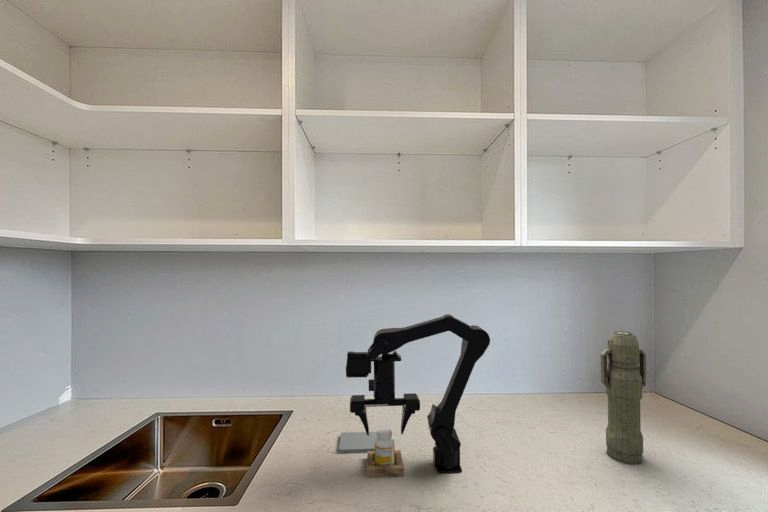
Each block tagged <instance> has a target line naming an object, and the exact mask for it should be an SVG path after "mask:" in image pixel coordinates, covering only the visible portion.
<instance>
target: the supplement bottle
mask: <svg viewBox="0 0 768 512" xmlns="http://www.w3.org/2000/svg"><path fill="white" fill-rule="evenodd" d="M376 432H377V438H376V439H375V461H374V466H389V465H396V460H395V449H396V448H395V447H396V446H395V439H394V438H393V431H392V429H391V428H390V427H389V428H388V427H381V428H378V430H377V431H376Z"/></svg>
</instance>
